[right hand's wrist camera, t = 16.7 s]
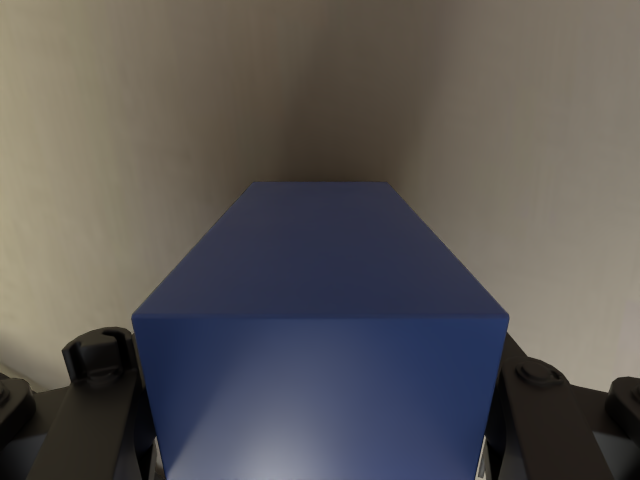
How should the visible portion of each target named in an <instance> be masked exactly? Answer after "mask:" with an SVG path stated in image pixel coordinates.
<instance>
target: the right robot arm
mask: <svg viewBox="0 0 640 480" xmlns="http://www.w3.org/2000/svg"><path fill="white" fill-rule="evenodd" d="M62 354H63V357H64V360H65V363H66V367H67V370H68V373H69V377H70V380H71V384H70V386H68V387H64V388H60V389H55V390H50V391H46V392H41V393H36V392H34V391H32V390H31V388H30V385H29V383H28V382H26V381H25V380H23V379H16V378H9V377H8V376H6V375H4V374H2V373H0V480H165V479H164V478H162V477H161V476H160V475H159V474H157V473H156V472H155V466H156V458H157V451H156V444H155V440H154V439H155V437H156V431H155V427H154V422H153V417H152V413H151V408H150V403H149V399H148V394H147V389H146V385H145V380H144V376H143V371H142V366H141V362H140V357H139V352H138V348H137V343H136V338H135V334H134V333H133V335H131V332H130V331H128V330H127V329H125V328H120V327H105V328H101V329H97V330H93V331H90V332H88V333H85V334H83V335H80V336H78V337H77V338H75V339H74V340H72V341H71V342H69V343H68V344H67V345H66V346H65V347H64V348H63V350H62ZM485 436H486V440H485V444H484V449H483V454H482V458H481V463H480V467H479V474H478V477H480V478H483V476H484V472H485V473H486V480H640V378H634V377H620V378H617V379H616V380H614V381H613V382H612V384H611V387H610V390H609V392H608V393H607V392H602V391H597V390H593V389H588V388H583V387H579V386H575V385H571V384H570V383H569V381H568V380H567V379H566V377H565V376H564V375H563V373H561V372H560V371H559V370H557V369H556V368H555V367H553V366H552V365H549V364H547V363H545V362H543V361H541V360H538V359H534V358H531V357H528V356H527V355H526V354H525V353H524V352H523V350H522V349H521V348H520V347H519V346H518V345H517V343H516V342H515V341H514V340H513V339H512V337H511V336H510V335H509V334H508V333H507V332H506V337H505V342H504V346H503V351H502V356H501V360H500V365H499V370H498V374H497V379H496V383H495V388H494V393H493V397H492V402H491V407H490V411H489V416H488V421H487V425H486V430H485Z"/></svg>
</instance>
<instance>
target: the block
mask: <svg viewBox="0 0 640 480" xmlns="http://www.w3.org/2000/svg"><path fill="white" fill-rule="evenodd" d="M131 320H132V324H133V329H134V334H135V338H136V343H137V348H138V352H139V357H140V362H141V366H142V371H143V376H144V380H145V385H146V389H147V394H148V399H149V403H150V408H151V413H152V417H153V422H154V427H155V431H156V436H157V441H158V445H159V450H160V455H161V459H162V464H163V469H164V473H165V478H166V480H475V476H476V472H477V467H478V462H479V458H480V453H481V448H482V444H483V439H484V434H485V430H486V425H487V421H488V416H489V411H490V407H491V402H492V397H493V393H494V388H495V383H496V379H497V374H498V370H499V365H500V360H501V356H502V351H503V346H504V342H505V337H506V332H507V328H508V323H509V314H508V313H507V312H506V311H505V310H504V309H503V308H502V307H501V306H500V304H499V303H498V302H497V301H496V300H495V299H494V298H493V297H492V296H491V295H490V294H489V292H488V291H487V290H486V289H485V288H484V287H483V286H482V285H481V284H480V283H479V282H478V280H477V279H476V278H475V277H474V276H473V275H472V274H471V273H470V272H469V271H468V270H467V269H466V267H465V266H464V265H463V264H462V263H461V262H460V261H459V260H458V259H457V258H456V257H455V255H454V254H453V253H452V252H451V251H450V250H449V249H448V248H447V247H446V246H445V245H444V243H443V242H442V241H441V240H440V239H439V238H438V237H437V236H436V235H435V234H434V233H433V231H432V230H431V229H430V228H429V227H428V226H427V225H426V224H425V223H424V222H423V221H422V220H421V218H420V217H419V216H418V215H417V214H416V213H415V212H414V211H413V210H412V209H411V208H410V206H409V205H408V204H407V203H406V202H405V201H404V200H403V199H402V198H401V197H400V196H399V194H398V193H397V192H396V191H395V190H394V189H393V188H392V187H391V186H390V185H389V184H388V182H253V183H252V184H251V185H250V186H249V187H248V188H247V189H246V190H245V192H244V193H243V194H242V195H241V196H240V197H239V198H238V199H237V200H236V201H235V202H234V204H233V205H232V206H231V207H230V208H229V209H228V210H227V211H226V212H225V213H224V215H223V216H222V217H221V218H220V219H219V220H218V221H217V222H216V223H215V224H214V225H213V227H212V228H211V229H210V230H209V231H208V232H207V233H206V234H205V235H204V236H203V237H202V239H201V240H200V241H199V242H198V243H197V244H196V245H195V246H194V247H193V248H192V249H191V251H190V252H189V253H188V254H187V255H186V256H185V257H184V258H183V259H182V260H181V262H180V263H179V264H178V265H177V266H176V267H175V268H174V269H173V270H172V271H171V272H170V274H169V275H168V276H167V277H166V278H165V279H164V280H163V281H162V282H161V283H160V284H159V286H158V287H157V288H156V289H155V290H154V291H153V292H152V293H151V294H150V295H149V296H148V298H147V299H146V300H145V301H144V302H143V303H142V304H141V305H140V306H139V307H138V309H137V310H136V311H135V312H134V313H133V314H132V318H131Z"/></svg>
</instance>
